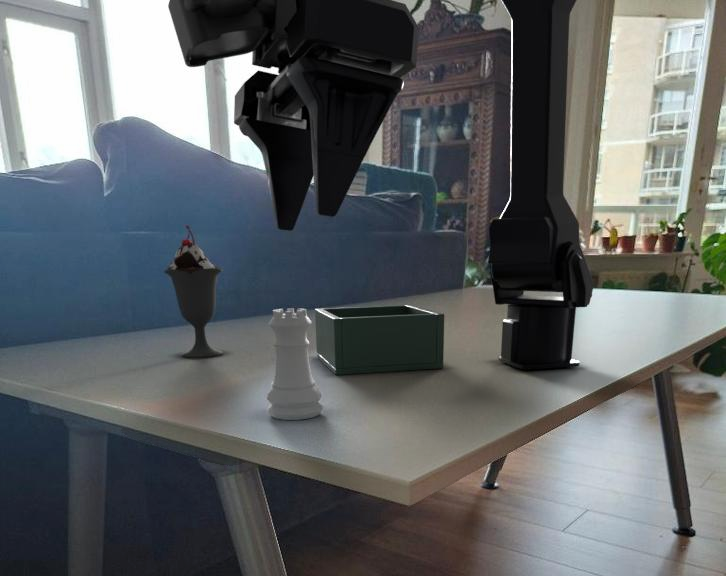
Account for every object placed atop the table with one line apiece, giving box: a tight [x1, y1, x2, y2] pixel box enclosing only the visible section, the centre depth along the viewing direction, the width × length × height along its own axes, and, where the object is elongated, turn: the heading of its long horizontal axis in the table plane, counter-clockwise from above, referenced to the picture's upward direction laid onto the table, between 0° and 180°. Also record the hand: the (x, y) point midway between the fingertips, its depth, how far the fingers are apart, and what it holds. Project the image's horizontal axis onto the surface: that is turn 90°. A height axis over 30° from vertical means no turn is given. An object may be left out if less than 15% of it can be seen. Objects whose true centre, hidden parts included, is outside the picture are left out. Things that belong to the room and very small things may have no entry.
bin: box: [314, 304, 445, 376], centre depth 73 cm, size 12×12×6 cm
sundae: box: [164, 224, 224, 359], centre depth 80 cm, size 7×7×15 cm
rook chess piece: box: [266, 308, 324, 421], centre depth 51 cm, size 4×4×8 cm
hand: (303, 223), depth 44 cm, fingers open, 9 cm apart
